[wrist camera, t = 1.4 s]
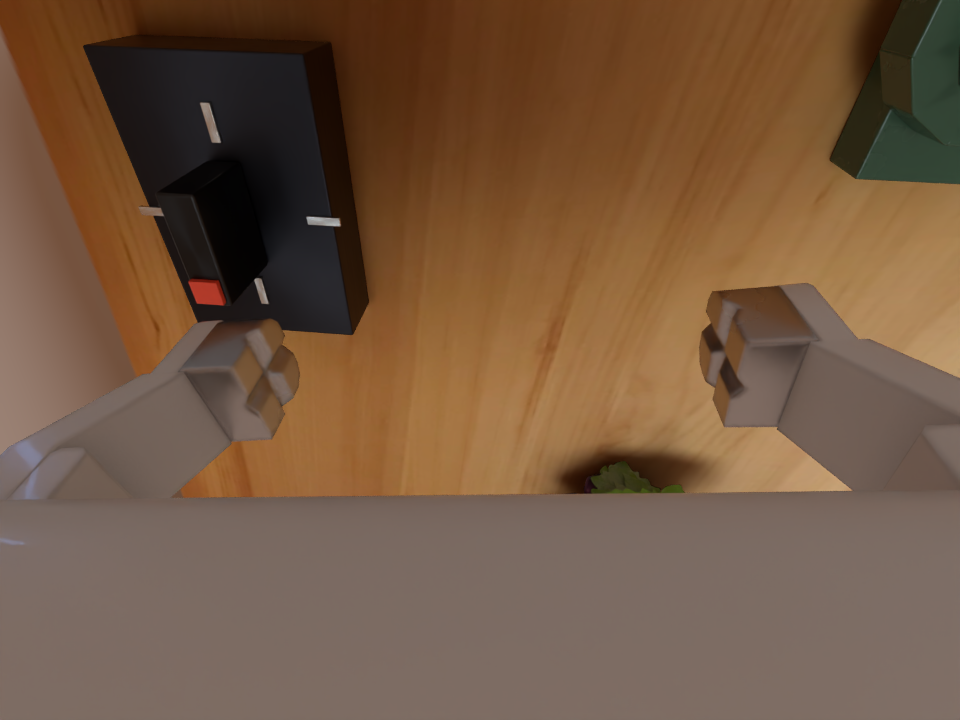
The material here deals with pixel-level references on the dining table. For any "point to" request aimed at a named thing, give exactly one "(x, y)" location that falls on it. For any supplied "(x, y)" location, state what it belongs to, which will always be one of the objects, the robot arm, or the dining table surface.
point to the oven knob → (214, 231)
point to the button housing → (909, 101)
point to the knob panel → (248, 160)
